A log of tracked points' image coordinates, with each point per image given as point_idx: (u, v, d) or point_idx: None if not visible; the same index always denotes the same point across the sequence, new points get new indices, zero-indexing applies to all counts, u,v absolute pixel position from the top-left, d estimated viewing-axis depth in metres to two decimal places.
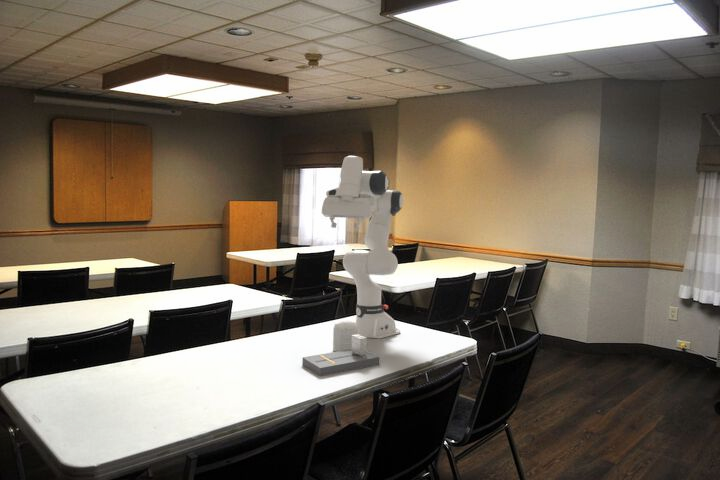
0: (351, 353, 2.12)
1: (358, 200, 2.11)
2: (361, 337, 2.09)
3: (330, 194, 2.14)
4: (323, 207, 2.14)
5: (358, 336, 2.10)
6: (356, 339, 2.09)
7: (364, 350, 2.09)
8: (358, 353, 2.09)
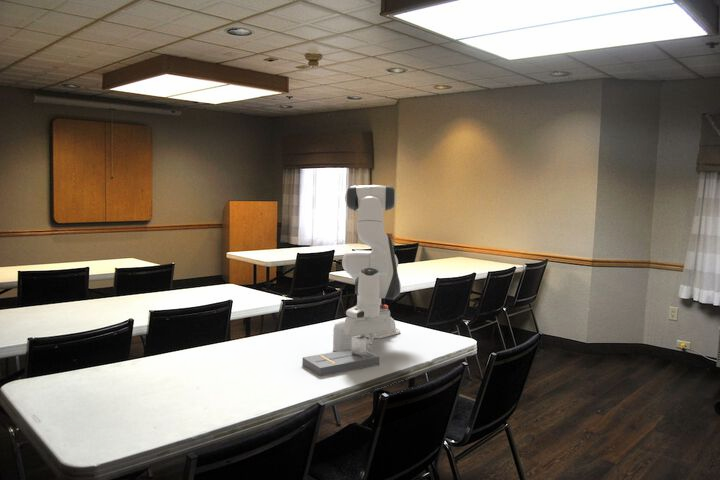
0: (351, 353, 2.12)
1: (381, 317, 2.13)
2: (361, 337, 2.09)
3: (358, 316, 2.06)
4: (351, 330, 2.06)
5: (358, 336, 2.10)
6: (356, 339, 2.09)
7: (364, 350, 2.09)
8: (358, 353, 2.09)
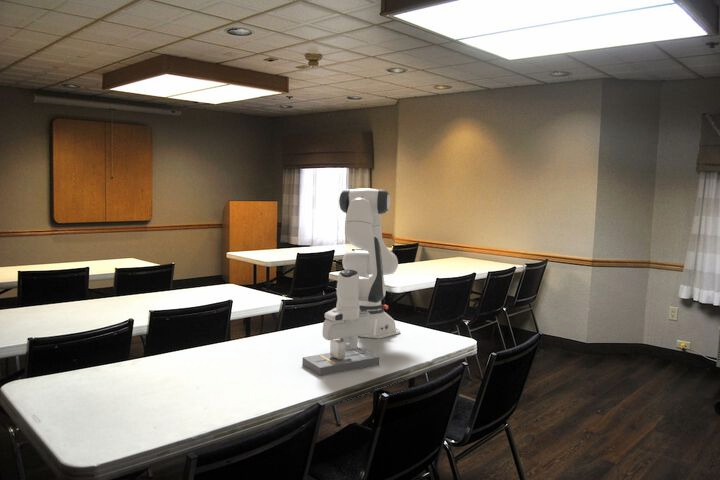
0: (351, 353, 2.12)
1: (360, 320, 2.08)
2: (340, 340, 2.04)
3: (337, 319, 2.00)
4: (329, 333, 2.00)
5: (337, 340, 2.05)
6: (334, 342, 2.04)
7: (343, 354, 2.04)
8: (336, 357, 2.03)
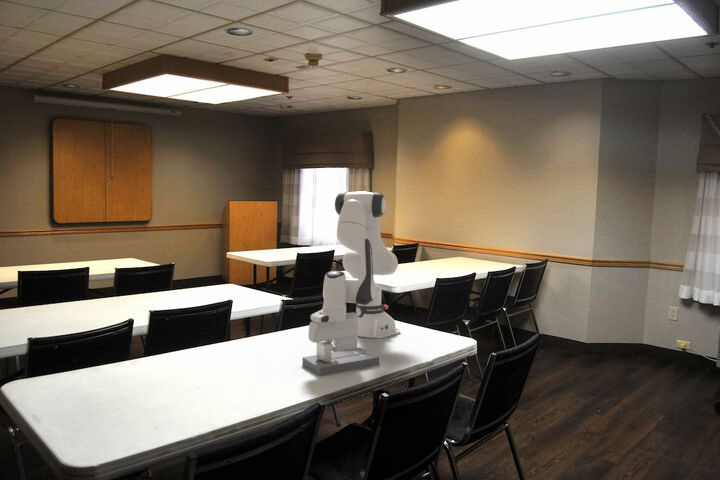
0: (351, 353, 2.12)
1: (347, 321, 2.05)
2: (326, 343, 2.01)
3: (323, 321, 1.97)
4: (315, 335, 1.97)
5: (323, 342, 2.02)
6: (321, 345, 2.01)
7: (329, 356, 2.00)
8: (323, 359, 2.00)
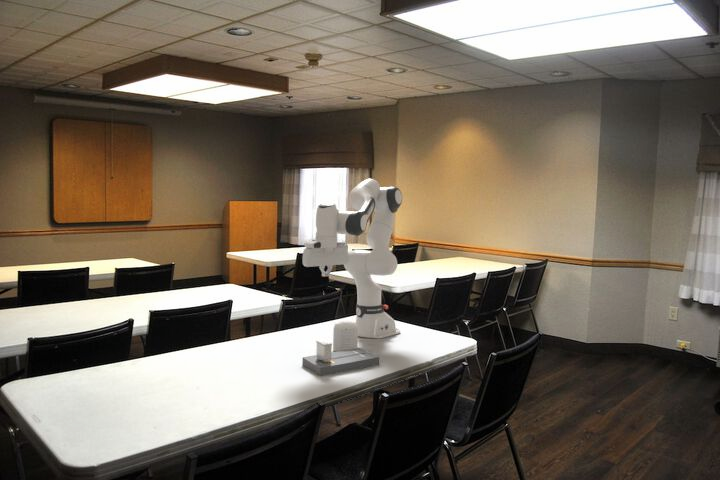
0: (351, 353, 2.12)
1: (338, 250, 2.23)
2: (326, 343, 2.01)
3: (315, 247, 2.16)
4: (308, 260, 2.16)
5: (323, 342, 2.02)
6: (321, 345, 2.01)
7: (329, 356, 2.00)
8: (323, 359, 2.00)
